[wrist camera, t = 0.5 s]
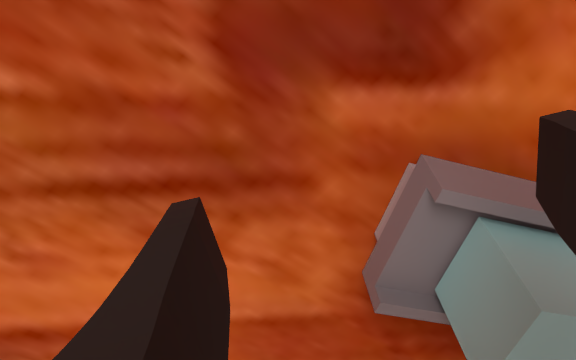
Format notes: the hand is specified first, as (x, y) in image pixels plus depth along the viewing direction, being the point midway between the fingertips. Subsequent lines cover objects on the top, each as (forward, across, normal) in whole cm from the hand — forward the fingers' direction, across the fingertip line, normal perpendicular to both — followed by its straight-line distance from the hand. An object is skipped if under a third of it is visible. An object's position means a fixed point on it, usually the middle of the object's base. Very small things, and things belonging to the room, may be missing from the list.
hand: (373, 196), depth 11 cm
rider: (+7, -6, +10) cm, 14 cm away
